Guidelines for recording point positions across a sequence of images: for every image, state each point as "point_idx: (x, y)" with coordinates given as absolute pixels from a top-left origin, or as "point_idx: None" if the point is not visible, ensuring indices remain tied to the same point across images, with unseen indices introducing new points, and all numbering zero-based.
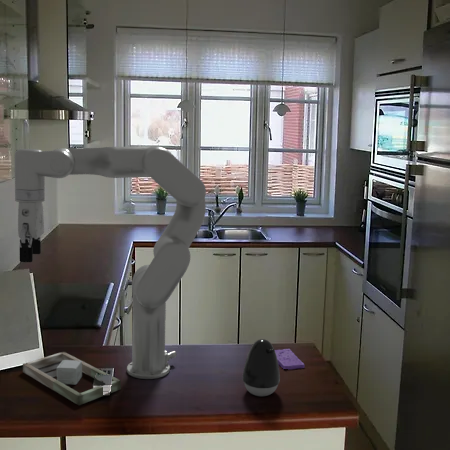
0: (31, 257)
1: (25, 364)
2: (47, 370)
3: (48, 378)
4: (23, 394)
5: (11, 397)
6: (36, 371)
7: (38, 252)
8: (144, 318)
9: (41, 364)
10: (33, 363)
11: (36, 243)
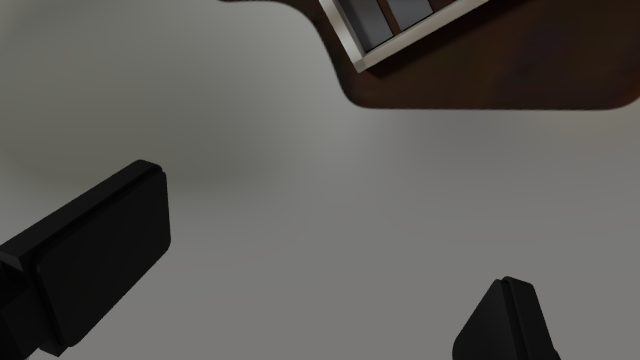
0: (542, 327)
1: (363, 66)
2: (371, 3)
3: (483, 2)
4: (497, 67)
5: (501, 95)
6: (420, 37)
7: (157, 185)
8: None
9: (346, 21)
10: (356, 45)
11: (78, 264)
